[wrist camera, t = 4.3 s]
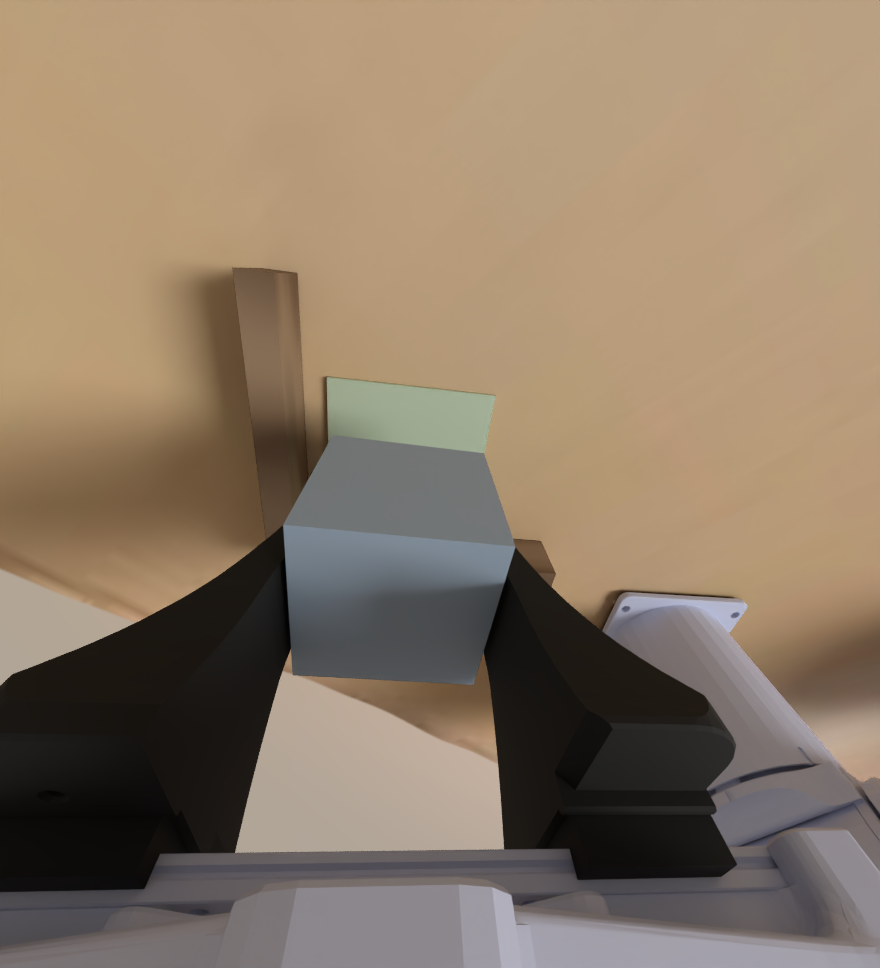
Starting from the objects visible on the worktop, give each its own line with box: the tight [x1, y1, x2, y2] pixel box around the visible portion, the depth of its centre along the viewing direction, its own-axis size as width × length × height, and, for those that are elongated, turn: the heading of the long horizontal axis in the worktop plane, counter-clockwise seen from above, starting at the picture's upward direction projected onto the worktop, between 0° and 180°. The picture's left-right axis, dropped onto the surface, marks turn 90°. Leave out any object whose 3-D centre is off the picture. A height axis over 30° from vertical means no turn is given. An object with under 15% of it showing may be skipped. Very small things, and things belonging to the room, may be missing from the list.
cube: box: [283, 435, 515, 685], centre depth 12 cm, size 5×5×5 cm
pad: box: [327, 377, 495, 453], centre depth 17 cm, size 7×7×1 cm
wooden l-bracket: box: [233, 268, 556, 586], centre depth 16 cm, size 12×13×2 cm
